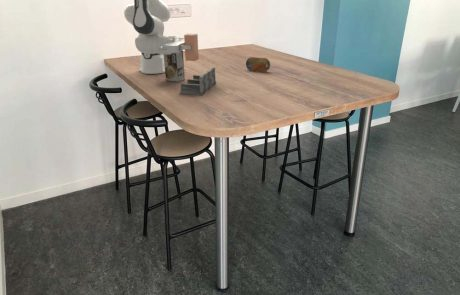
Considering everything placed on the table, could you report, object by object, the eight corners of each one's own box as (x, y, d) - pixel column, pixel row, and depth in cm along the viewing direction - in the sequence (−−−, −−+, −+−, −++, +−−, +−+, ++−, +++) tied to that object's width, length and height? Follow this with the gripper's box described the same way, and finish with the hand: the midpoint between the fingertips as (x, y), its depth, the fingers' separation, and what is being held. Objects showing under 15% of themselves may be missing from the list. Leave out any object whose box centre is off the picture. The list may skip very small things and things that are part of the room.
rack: (195, 82, 203) (194, 66, 199) (216, 83, 200) (215, 67, 196) (180, 93, 185) (178, 75, 181) (203, 95, 182) (202, 76, 178)
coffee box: (185, 79, 209) (183, 50, 202) (178, 82, 204) (176, 52, 197) (172, 77, 213) (170, 48, 207) (165, 80, 208) (162, 50, 202)
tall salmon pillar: (189, 58, 184) (187, 33, 179) (198, 59, 183) (197, 34, 178) (185, 60, 180) (184, 35, 175) (195, 61, 179) (194, 35, 174)
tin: (245, 70, 227) (245, 56, 223) (247, 69, 229) (247, 55, 225) (268, 73, 220) (269, 58, 217) (270, 72, 223) (271, 57, 219)
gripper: (156, 42, 172) (184, 43, 168) (174, 35, 190) (200, 36, 186) (157, 55, 174) (185, 57, 171) (175, 48, 192) (200, 49, 189)
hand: (193, 46), depth 179 cm, fingers closed on tall salmon pillar, 4 cm apart
